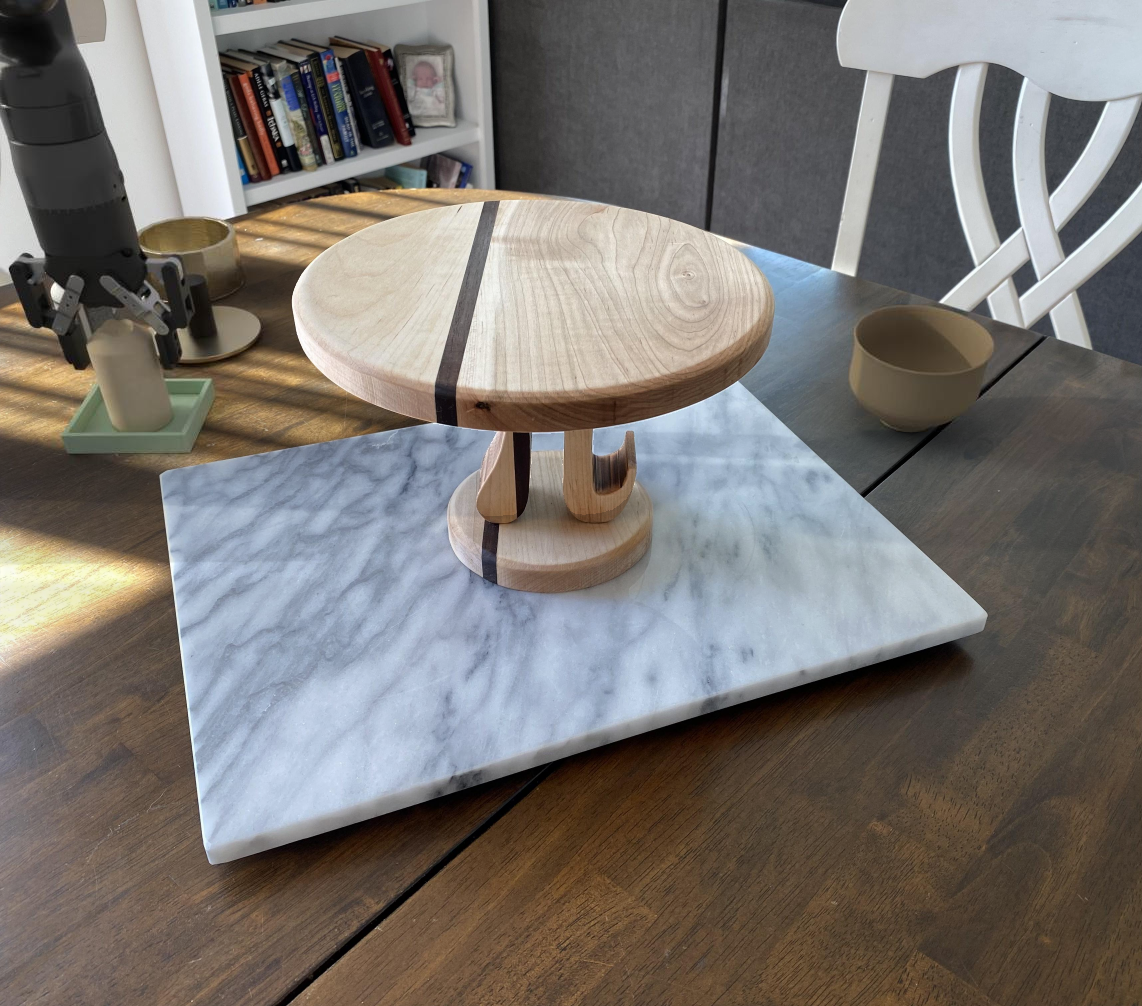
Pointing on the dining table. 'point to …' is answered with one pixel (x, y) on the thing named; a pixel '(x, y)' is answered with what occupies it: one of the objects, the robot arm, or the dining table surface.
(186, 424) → the tray
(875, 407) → the bowl
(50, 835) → the dining table surface
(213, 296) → the pot
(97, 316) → the pill bottle
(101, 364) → the candle
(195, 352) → the lid
